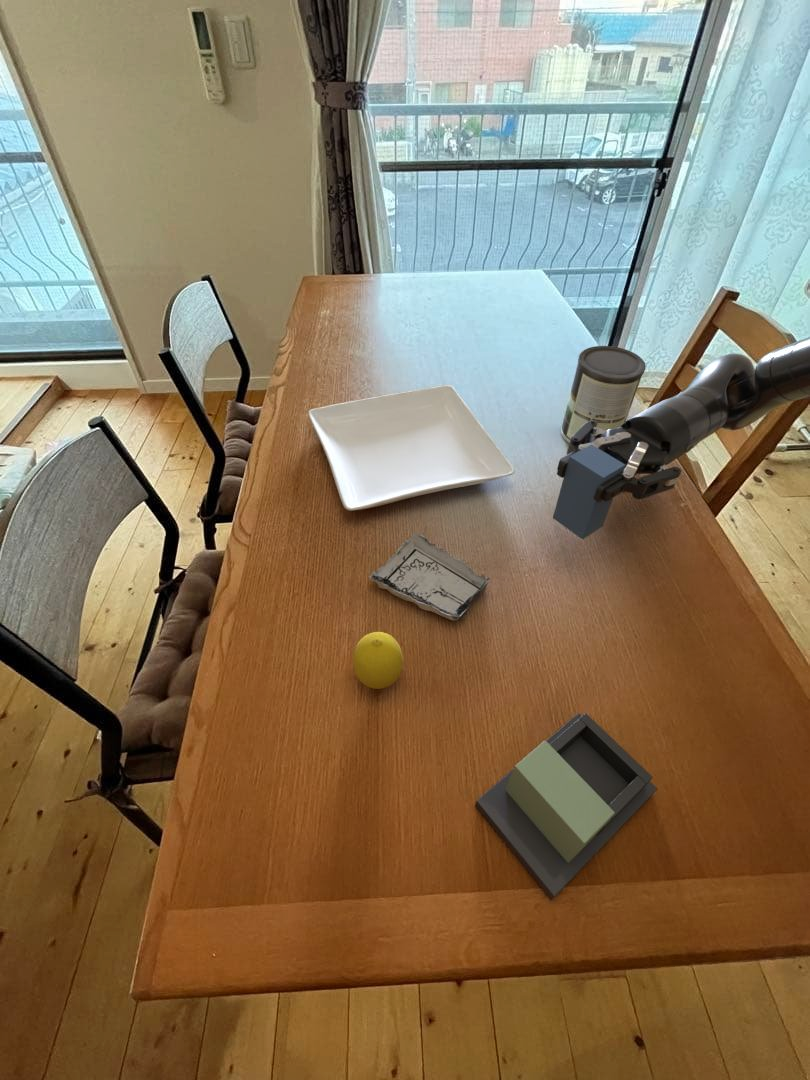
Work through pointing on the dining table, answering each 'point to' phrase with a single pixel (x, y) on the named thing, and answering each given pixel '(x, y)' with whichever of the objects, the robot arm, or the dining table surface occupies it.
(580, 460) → the blue rectangular block
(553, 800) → the seat frame
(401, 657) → the lemon
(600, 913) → the dining table surface
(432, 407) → the square plate
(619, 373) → the coffee can
